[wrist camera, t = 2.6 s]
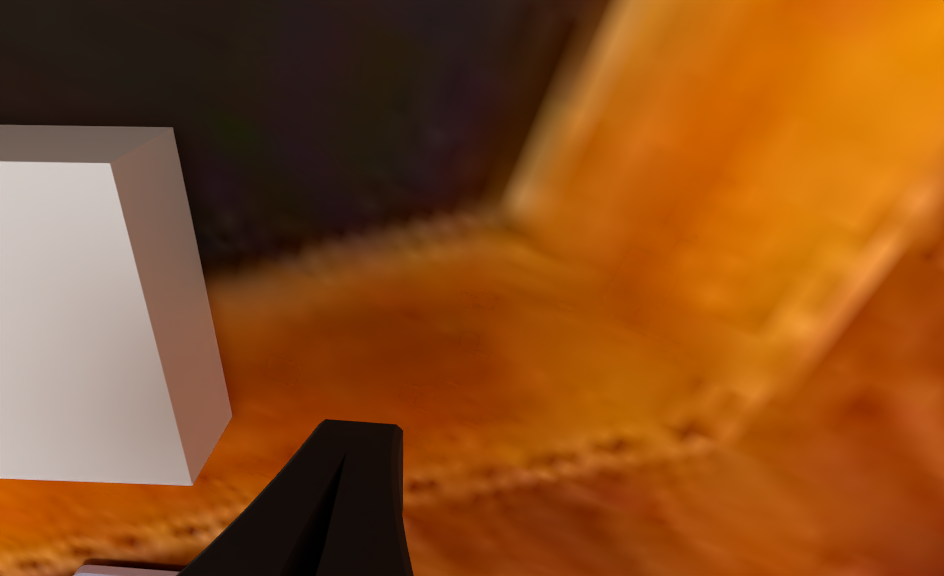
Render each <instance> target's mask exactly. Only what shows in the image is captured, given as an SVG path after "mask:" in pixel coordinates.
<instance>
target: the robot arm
mask: <svg viewBox="0 0 944 576" xmlns="http://www.w3.org/2000/svg"><path fill="white" fill-rule="evenodd" d="M402 511H403V430H402V429H401V428H400V427H399V426H398V425H395V424H382V423H368V422H355V421H342V420H328V419H325V420H324V421H323V422H321V423H320V424H319V425H318V426H317V427H316V429H315V430H314V431H313V433H312V434H311V435H310V436H309V438H308V439H307V440H306V441H305V442H304V444H303V445H302V446H301V447H300V449H299V450H298V451H297V452H296V453H295V455H294V456H293V457H292V458H291V459H290V460H289V462H288V463H287V464H286V465H285V466H284V467H283V469H282V470H281V471H280V472H279V473H278V474H277V475H276V477H275V478H274V479H273V480H272V481H271V482H270V483H269V484H268V485H267V486H266V487H265V489H264V490H263V491H262V492H261V493H260V494H259V495H258V496H257V497H256V498H255V499H254V501H253V502H252V503H251V504H250V505H249V506H248V507H247V508H246V509H245V510H244V511H243V512H242V513H241V514H240V515H239V516H238V517H237V518H236V519H235V520H234V521H233V522H232V523H231V524H230V525H229V526H228V527H227V528H226V529H225V530H224V531H223V532H222V533H221V534H220V535H219V536H218V537H217V538H216V539H215V540H214V541H213V542H212V543H211V544H210V545H209V546H208V547H207V548H206V549H205V550H204V551H202V552H201V553H200V554H199V555H198V556H197V557H196V558H195V559H194V560H193V561H192V562H190V563H189V564H188V565H187V566H186V567H185V568H184V569H183V570H182V571H180V572H177V571H164V570H151V569H138V568H126V567H113V566H100V565H83V566H81V567H79V568H78V570H77V571H76V573H75V574H74V576H414V575H413V571H412V567H411V562H410V557H409V552H408V547H407V542H406V537H405V531H404V524H403V517H402Z"/></svg>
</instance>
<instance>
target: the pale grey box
mask: <svg viewBox="0 0 944 576" xmlns="http://www.w3.org/2000/svg"><path fill="white" fill-rule="evenodd" d="M231 418H232V411H231V407H230V402H229V397H228V392H227V387H226V382H225V378H224V373H223V368H222V363H221V358H220V354H219V349H218V344H217V339H216V334H215V329H214V325H213V320H212V315H211V310H210V305H209V300H208V296H207V291H206V286H205V281H204V276H203V271H202V267H201V262H200V257H199V252H198V247H197V242H196V238H195V233H194V228H193V223H192V218H191V214H190V209H189V204H188V199H187V194H186V189H185V185H184V180H183V175H182V170H181V165H180V160H179V156H178V151H177V146H176V141H175V136H174V131H173V127H111V126H43V125H0V478H3V479H29V480H55V481H82V482H108V483H134V484H160V485H186V486H193V484H194V482H195V480H196V479H197V477H198V475H199V473H200V472H201V470H202V468H203V467H204V465H205V463H206V461H207V460H208V458H209V456H210V454H211V453H212V451H213V449H214V447H215V446H216V444H217V442H218V441H219V439H220V437H221V435H222V434H223V432H224V430H225V428H226V427H227V425H228V423H229V421H230V420H231Z"/></svg>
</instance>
